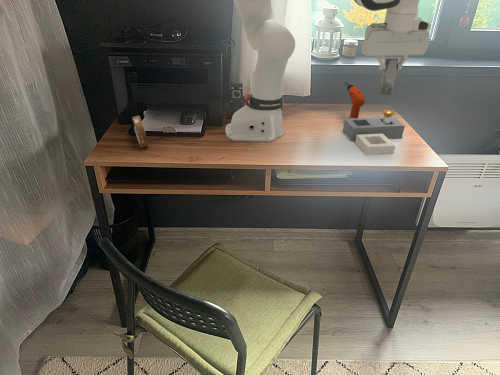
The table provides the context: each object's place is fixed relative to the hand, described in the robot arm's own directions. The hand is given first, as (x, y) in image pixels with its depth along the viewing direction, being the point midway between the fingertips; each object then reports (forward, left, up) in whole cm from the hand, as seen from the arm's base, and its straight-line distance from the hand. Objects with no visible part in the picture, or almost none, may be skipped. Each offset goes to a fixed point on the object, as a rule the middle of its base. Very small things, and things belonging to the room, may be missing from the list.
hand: (390, 69), depth 121 cm
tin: (-82, +13, -28) cm, 88 cm away
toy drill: (0, +24, -28) cm, 37 cm away
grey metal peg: (0, 0, -8) cm, 8 cm away
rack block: (0, -1, -28) cm, 28 cm away
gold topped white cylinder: (+9, +10, -27) cm, 31 cm away
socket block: (+4, +10, -28) cm, 30 cm away
